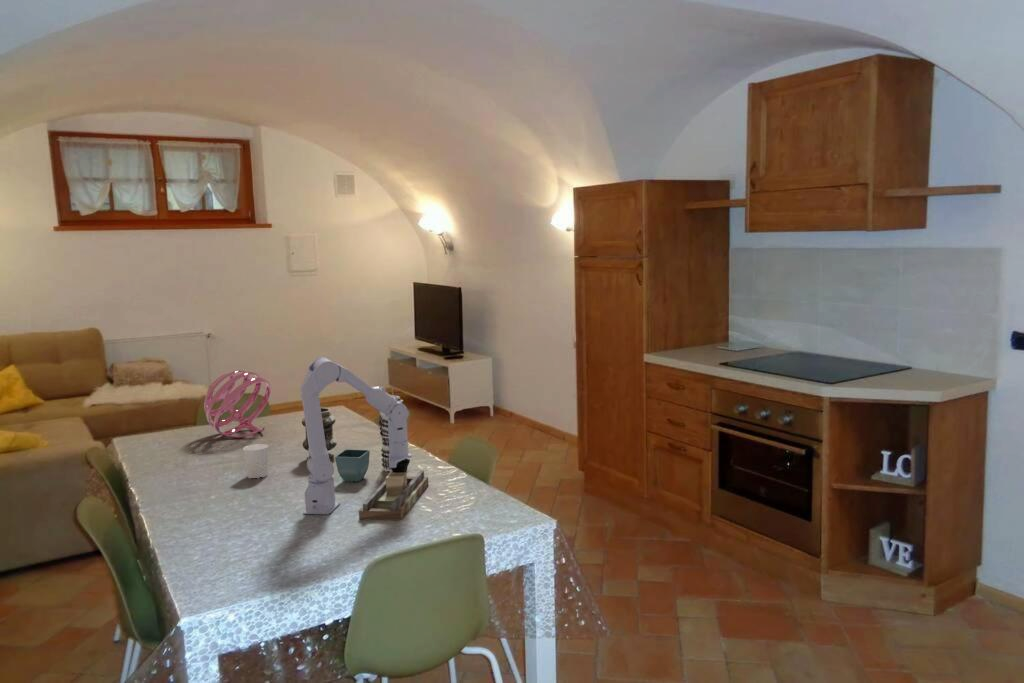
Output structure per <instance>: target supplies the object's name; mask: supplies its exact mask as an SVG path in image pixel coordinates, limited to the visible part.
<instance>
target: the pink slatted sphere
mask: <svg viewBox="0 0 1024 683" xmlns="http://www.w3.org/2000/svg"><path fill="white" fill-rule="evenodd" d="M235 374H237V375H235ZM253 375H254V377H253V378H250V376H253ZM227 378H229V380H227V381H226V382H224V384H223V385H221V386H220V387H219V389H218V390H217V391H216V392H215V389H216V388H217V387H218V386H219V385H220V384H221V383H222V382H223V381H224V380H226V379H227ZM240 379H242V383H241V384H239V385H238V386H237V387H236V388H234V387H235V385H236V382H237V381H239V380H240ZM263 383H266V384H265V385H266V388H265V392H264V396H263V398H262V399H261V402H260V403H259V405H258V407H257V408H256V409H255V410H254V411H253V412H252V413H251V415H249V416H248V417H247V418H245V417H244V414H245V413H246V412H247V411H248V410H249V409H250V408H251V406H252V405H253V404H254V402H255V401H256V400H257V398H258V396H259V394H260V392H261V388H262V384H263ZM254 384H255V386H254V388H253V391H252V392H251V395H250V396H249V398H248V399H247V400H246V401H245V402H244V404H243V405H242V406H241V407H240V408H239V409H235V405H236V404H237V403H238V402H239V401H240V400H241V399H242V398H243V396H244V395H245V393H246V391H247V389H248V388H249V387H251V386H252V385H254ZM271 387H272V386H271V384H270V383H269V381H268V380H267V379H266V378H263V377H261V376H260V375H259V374H258V373H256V372H254V371H245V370H242V369H240V370H234V371H230V372H228V373H224V374H223V375H220V376H219V377H217V378H216V379H214V381H213V382H212V383H211V385H210V386H209V388H208V389H207V392H206V395H205V398H204V403H203V407H204V412H205V415H206V420H207V422H208V423H209V425H210V426H211V427H212V428H213V429H214V430H215V431H216V432H217V433H219V434H220V435H222V436H224V437H227V438H230V439H244V438H247V437H251V436H252V435H254V434H256V433H262V432H264V431H265V430H266V427H262V428H258V427H257V426H255V425H253V424H252V423H253V422H254V420H255V419H256V418H258V416H259V415H260V414H261V412H262V411H263V410H264V408H266V407H265V406H266V405H267V404H268V402H269V399H270V396H271V393H272V388H271ZM214 392H215V393H214ZM219 401H222V403H221V404H220V405H219V406H218V408H215V409H213V408H214V406H215V404H216V403H218V402H219ZM225 412H229V413H230V416H228V417H227V418H225V419H222V420H221V418H222V416H223V414H224V413H225ZM213 416H214V419H213V418H212V417H213ZM233 422H238V423H239V424H238V425H236V426H235V427H233V428H231V429H228V430H220V428H221V427H225V426H228V425H230V424H231V423H233ZM243 429H248V430H250V431H252V432H249V433H247V434H243V435H233V433H234V434H236V433H238V432H240V431H242V430H243ZM230 434H231V435H230Z"/></svg>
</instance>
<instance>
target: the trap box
mask: <svg viewBox="0 0 1024 683" xmlns="http://www.w3.org/2000/svg"><path fill="white" fill-rule="evenodd" d="M424 472H425V471H424V470H419V471H418V473H416V474H415V476H407V487H406V488H405V489H404V490H403V491H402V492H401V494H387V493H386V479H385V480H384V481H383V483H381V485H380V486H378V487H377V489H376V490H374V492H373V493H372V494H371V495H370V496H369V497H368V498H367V499H366V500H365V501H364V502H363V503H362V507H361V508H360V509H359V510H358V520H363V519H370V520H369V521H372V520H373V521H401V520H402V519H403V518H404V516H406V514H407V513H408V511H409V510H410V509H411V508H412V506H413V505H414V503H415V502H416V501H417V500H418V499H419V497H420V496H421V495H422V494H423V492H424V491H425V490H426V488H427V487H428V486H429V476H425V473H424ZM427 485H428V486H427ZM426 486H427V487H426ZM423 490H424V491H423ZM422 491H423V492H422ZM420 494H421V495H420ZM419 495H420V496H419ZM417 498H418V499H417Z"/></svg>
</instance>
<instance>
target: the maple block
mask: <svg viewBox="0 0 1024 683" xmlns="http://www.w3.org/2000/svg"><path fill="white" fill-rule="evenodd" d="M407 474H408V473H407V472H406V473H393V472H389V474H387V476H386V477H385V480H386V493H387V494H401V492H402V491H403V490H404V489H405V488H406V487H407V477H408V476H407Z"/></svg>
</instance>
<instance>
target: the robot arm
mask: <svg viewBox="0 0 1024 683" xmlns="http://www.w3.org/2000/svg"><path fill="white" fill-rule="evenodd" d="M334 382H337V383H346V384H348V385H349V386H350V387H352V388H354V389H355V390H356V391H358V392H360V393H361V394H363V395H364V397H365V401H366V403H368V404H369V405H371V406H372V407H373V408H375V409H376V410H378V411H379V413H380V412H382V413H384V414H385V415H386V416H387V417H389V418H388V437H389V460H390V461H389V468H391V470H392V471H393V472H392V473H407V470H408V466H409V464H410V462H411V458H412V457H413V453H410V452H409V442H408V423H407V419H408V417H409V415H410V411H409V409H408V408H407V406H406V405H405V404H404V403H403V404H402V403H401V402H399V401H398V398H396V397H392V396H391V395H392V394H390V393H388V392H387V389H386V388H385V387H384V386H377V385H376V386H371V385H370V384H368V383H366V382H365V381H364V380H363V379H361V378H360V377H359V376H358V375H357V374H355V373H354V372H352V371H351V370H349V369H348V368H346V367H344V365H343V366H342V365H341V364H339V363H337V362H334V361H332V360H330V359H329V358H327V357H323V356H322V357H318V358H315V360H313V362H312V363H311V364H310V365H309V366H308V368H307V372H306V375H305V377H304V379H303V381H302V383H301V385H300V396H301V401H302V409H303V410H302V411H303V418H304V417H305V424H306V427H305V432H306V431H307V437H308V444H309V449H308V451H307V454H308V457H307V458H308V460H307V459H306V468H307V469H308V471H309V472H310V473H309V475H308V478H307V479H308V480H307V481H308V482H307V483H308V484H307V487H306V488H305V491H304V503H305V504H304V506H305V510H304V511H302V514H304V515H330V514H331V513H332V512H333V511H334V510H335V509H336V508H337V507H338V506H339V505H341V501H336V494H335V493H336V492H335V478H334V473H335V467H334V463H333V462H332V461H331V460H330V459H329V454H328V453H329V451H327V448H326V442H325V435H324V428H323V421H322V414H321V408H322V407H321V401H320V393H321V392H322V391H323V390H324V389H325V388H326V387H327V386H329V385H331V384H332V383H334ZM406 458H407V459H406ZM409 458H410V459H409ZM329 513H330V514H329Z"/></svg>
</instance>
